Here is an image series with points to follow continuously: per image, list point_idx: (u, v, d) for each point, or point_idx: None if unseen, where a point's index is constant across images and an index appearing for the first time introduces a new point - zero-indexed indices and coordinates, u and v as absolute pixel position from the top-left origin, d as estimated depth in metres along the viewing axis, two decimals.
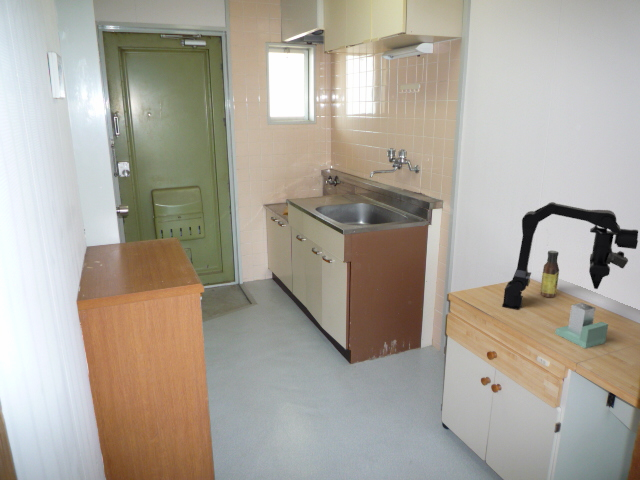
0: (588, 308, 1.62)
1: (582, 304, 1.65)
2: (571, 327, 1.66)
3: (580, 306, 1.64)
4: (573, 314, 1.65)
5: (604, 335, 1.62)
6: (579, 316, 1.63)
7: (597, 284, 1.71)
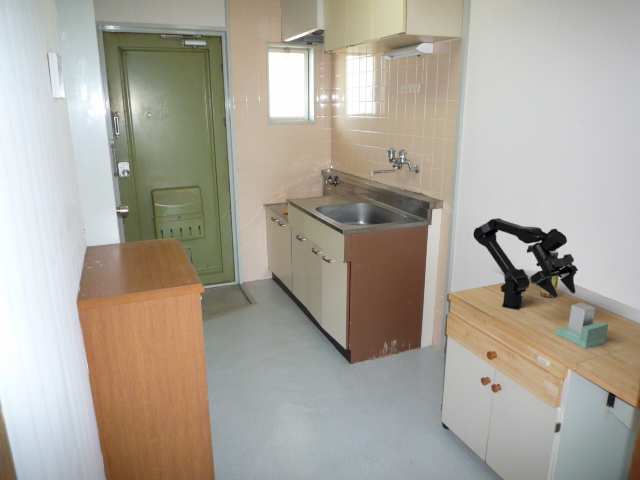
0: (588, 308, 1.62)
1: (582, 304, 1.65)
2: (571, 327, 1.66)
3: (580, 306, 1.64)
4: (573, 314, 1.65)
5: (604, 335, 1.62)
6: (579, 316, 1.63)
7: (552, 292, 1.68)
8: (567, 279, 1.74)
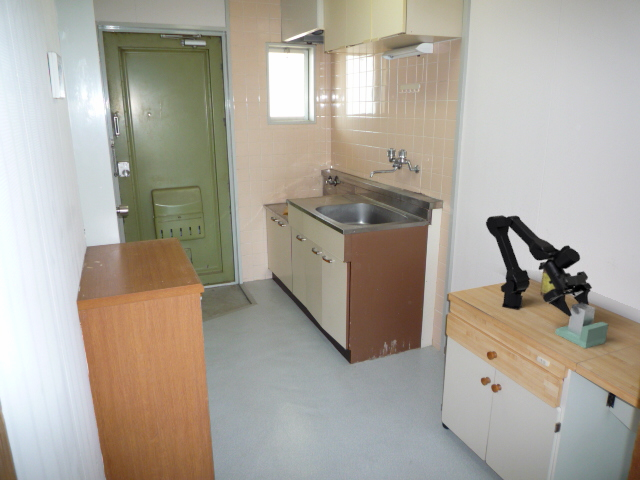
0: (588, 308, 1.62)
1: (582, 304, 1.65)
2: (571, 327, 1.66)
3: (580, 306, 1.64)
4: (573, 314, 1.65)
5: (604, 335, 1.62)
6: (579, 316, 1.63)
7: (566, 311, 1.64)
8: (581, 297, 1.70)
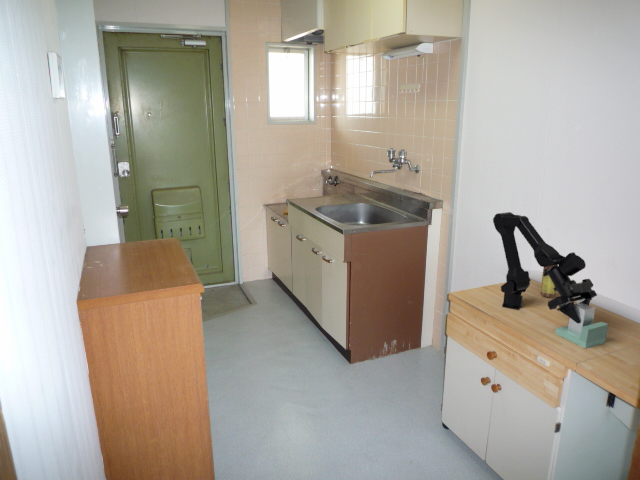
0: (588, 308, 1.62)
1: (582, 304, 1.65)
2: (571, 327, 1.66)
3: (580, 306, 1.64)
4: None
5: (604, 335, 1.62)
6: (579, 316, 1.63)
7: (575, 317, 1.63)
8: None
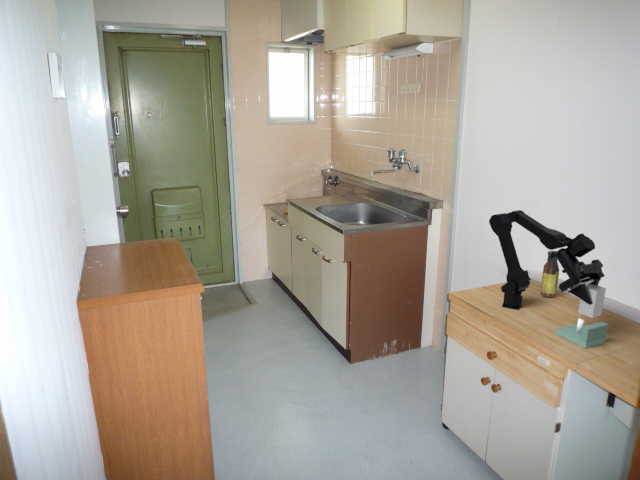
0: (599, 289, 1.61)
1: (592, 285, 1.64)
2: (582, 309, 1.65)
3: (591, 287, 1.62)
4: None
5: (604, 335, 1.62)
6: (591, 297, 1.61)
7: (586, 299, 1.62)
8: None
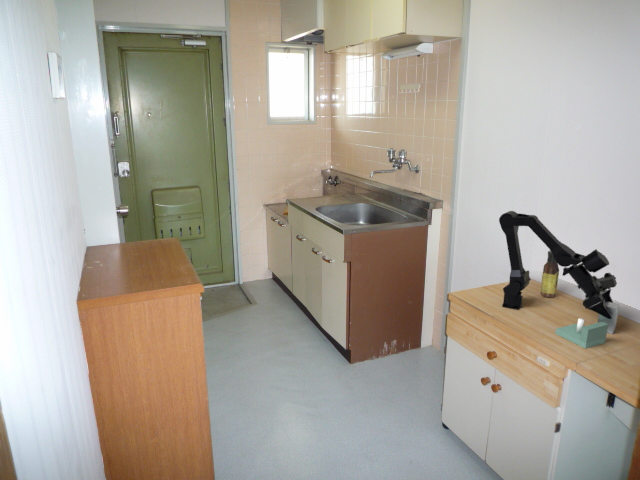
0: (616, 306, 1.69)
1: (606, 302, 1.72)
2: None
3: (608, 305, 1.70)
4: None
5: (604, 335, 1.62)
6: None
7: (606, 314, 1.67)
8: (605, 297, 1.75)
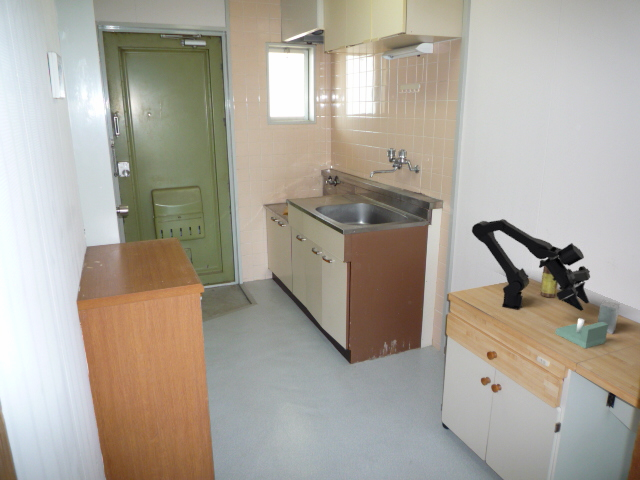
0: (616, 306, 1.69)
1: (606, 302, 1.72)
2: None
3: (608, 305, 1.70)
4: (603, 313, 1.70)
5: (604, 335, 1.62)
6: (610, 315, 1.68)
7: (579, 306, 1.72)
8: (579, 290, 1.81)
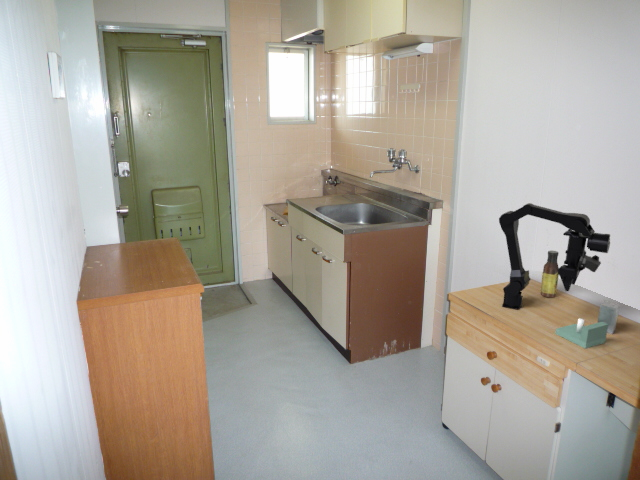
0: (616, 306, 1.69)
1: (606, 302, 1.72)
2: None
3: (608, 305, 1.70)
4: (603, 313, 1.70)
5: (604, 335, 1.62)
6: (610, 315, 1.68)
7: (567, 286, 1.74)
8: None
